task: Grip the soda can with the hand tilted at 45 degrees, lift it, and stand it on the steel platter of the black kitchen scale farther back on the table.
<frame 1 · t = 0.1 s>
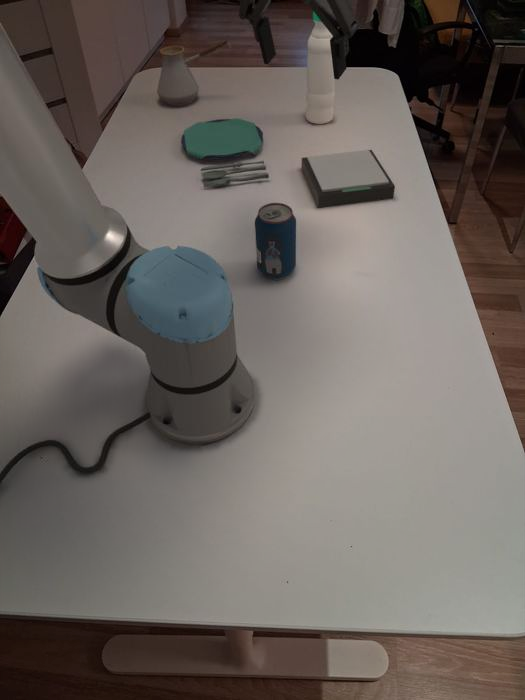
hand: (304, 66, 89), 28 cm above the table, tool tilted 20°, fingers open, 13 cm apart
cutlery set: (225, 155, 127), on the table
coffee pot: (197, 100, 149), on the table
water bottle: (319, 119, 138), on the table
scale: (345, 183, 116), on the table
soda can: (276, 270, 97), on the table
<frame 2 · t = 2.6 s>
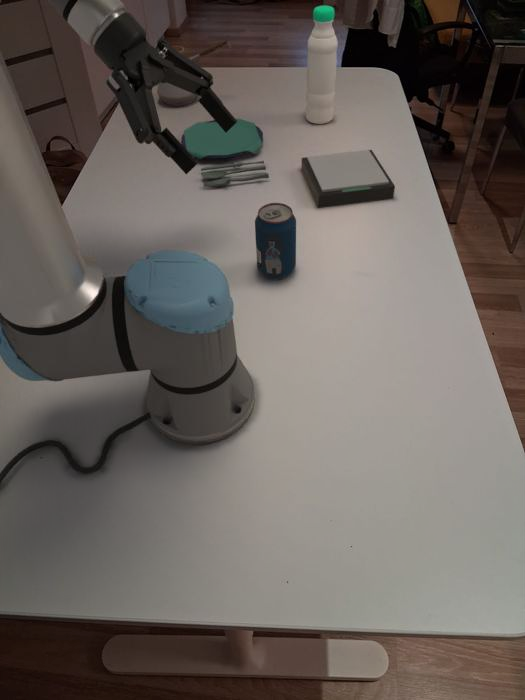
hand: (213, 147, 84), 22 cm above the table, tool tilted 45°, fingers open, 13 cm apart
nothing on the table moved.
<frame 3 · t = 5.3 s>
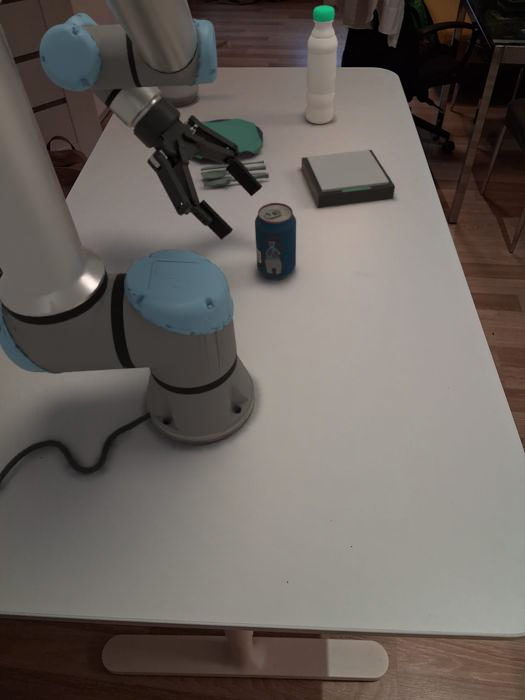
hand: (242, 212, 91), 11 cm above the table, tool tilted 45°, fingers open, 13 cm apart
nothing on the table moved.
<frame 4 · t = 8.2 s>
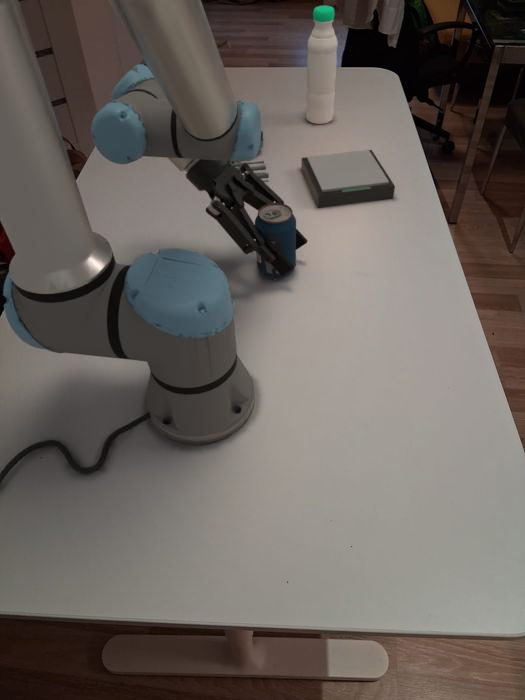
hand: (295, 257, 94), 3 cm above the table, tool tilted 45°, fingers closed on soda can, 7 cm apart
soda can: (276, 270, 97), on the table, touching gripper
everything else where it was.
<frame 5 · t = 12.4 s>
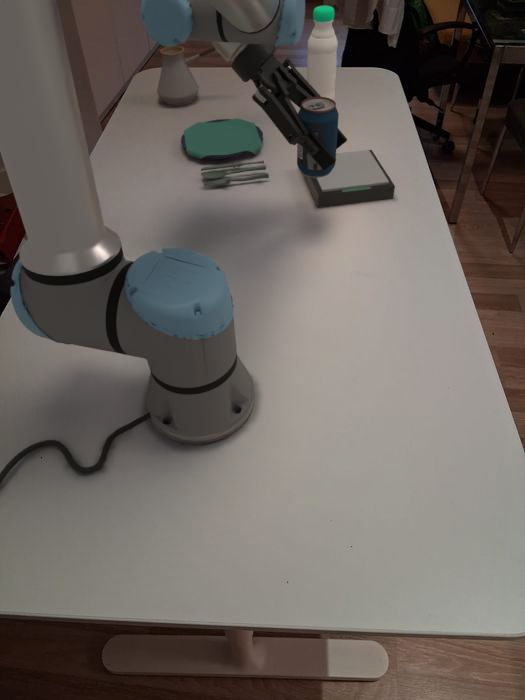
hand: (335, 154, 95), 15 cm above the table, tool tilted 45°, fingers closed on soda can, 7 cm apart
soda can: (315, 170, 99), point 11 cm above the table, touching gripper
everything else where it was.
when the fingers open (7 cm above the table, at t = 17.0 s): soda can stays where it is, resting on scale.
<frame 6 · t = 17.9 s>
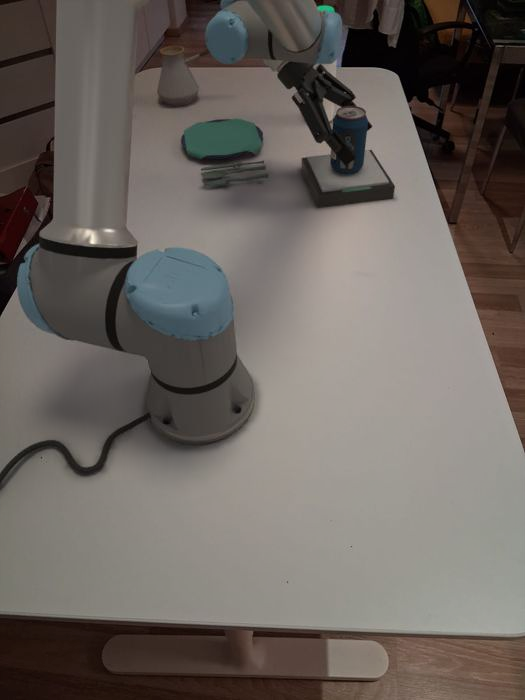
hand: (359, 145, 109), 9 cm above the table, tool tilted 45°, fingers open, 13 cm apart
soda can: (346, 169, 114), point 3 cm above the table, touching scale
everything else where it was.
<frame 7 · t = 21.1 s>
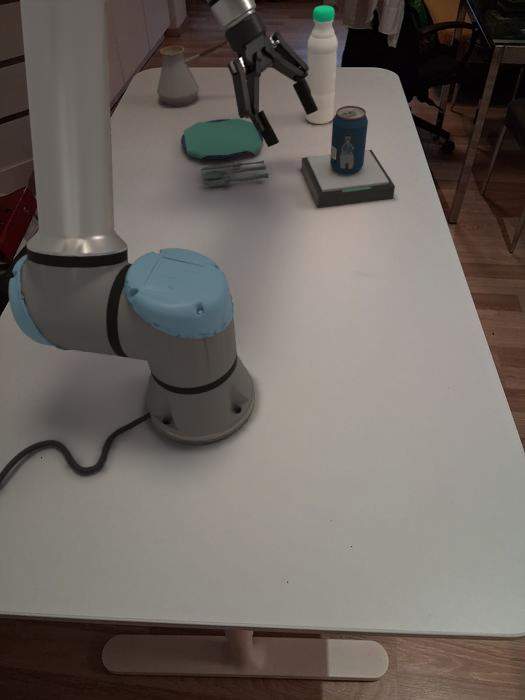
hand: (293, 128, 108), 12 cm above the table, tool tilted 30°, fingers open, 13 cm apart
nothing on the table moved.
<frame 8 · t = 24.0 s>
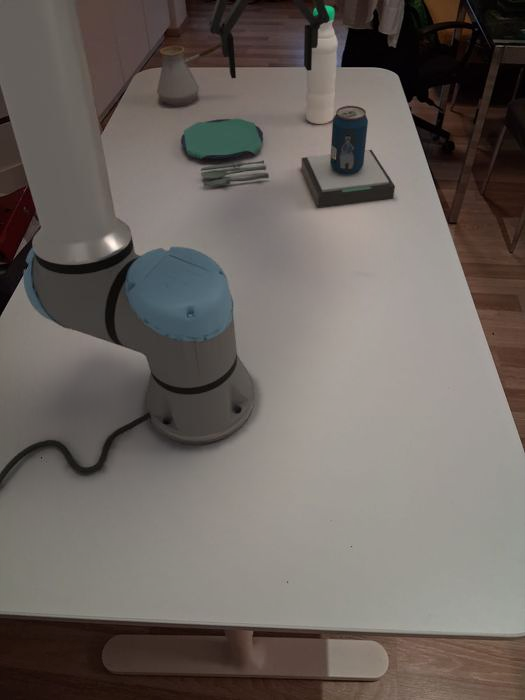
hand: (270, 71, 96), 25 cm above the table, tool pointing down, fingers open, 13 cm apart
nothing on the table moved.
at the end: soda can inside the target area on the scale (0.1 cm from its centre), point 3.2 cm above the scale's base; soda can tilted 0°; the gripper is holding nothing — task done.
